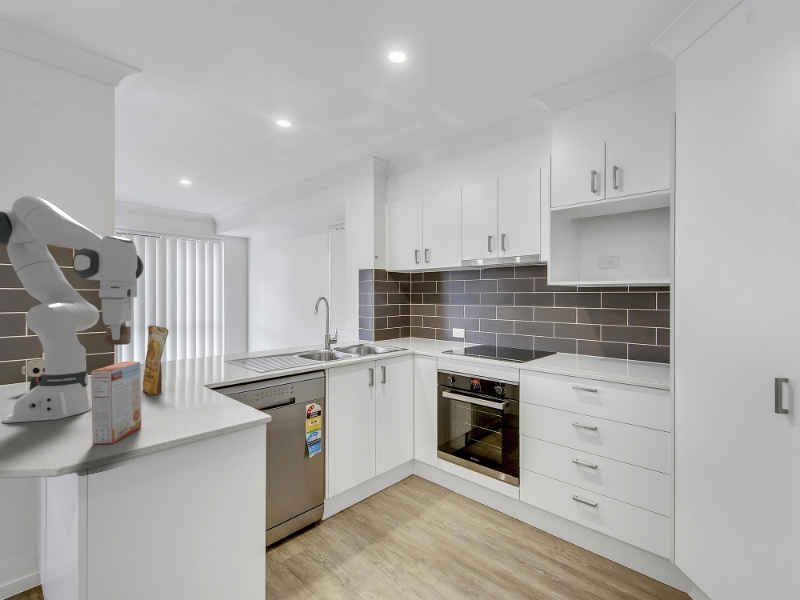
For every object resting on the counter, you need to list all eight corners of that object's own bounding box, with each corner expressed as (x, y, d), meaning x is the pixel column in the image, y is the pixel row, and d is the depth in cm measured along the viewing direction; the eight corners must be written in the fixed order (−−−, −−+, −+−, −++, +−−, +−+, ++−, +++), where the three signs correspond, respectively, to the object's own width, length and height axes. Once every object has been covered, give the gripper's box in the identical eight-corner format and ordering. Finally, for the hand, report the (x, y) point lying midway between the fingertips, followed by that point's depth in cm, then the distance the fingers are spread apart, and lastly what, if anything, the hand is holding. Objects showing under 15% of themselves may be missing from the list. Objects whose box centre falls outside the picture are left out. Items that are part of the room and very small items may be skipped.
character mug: (23, 394, 160) (23, 363, 159) (20, 392, 164) (20, 361, 164) (58, 389, 168) (58, 359, 168) (53, 387, 173) (53, 358, 172)
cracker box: (122, 427, 121) (121, 361, 121) (142, 427, 122) (142, 361, 121) (90, 445, 107) (89, 369, 107) (113, 444, 108) (112, 369, 107)
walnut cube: (106, 345, 111) (106, 327, 111) (110, 343, 115) (110, 326, 115) (127, 344, 113) (127, 327, 113) (130, 342, 118) (130, 326, 118)
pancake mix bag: (156, 386, 176) (156, 324, 175) (169, 393, 163) (169, 327, 162) (139, 388, 171) (138, 325, 171) (151, 396, 158) (151, 328, 157)
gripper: (113, 291, 122) (113, 335, 122) (97, 291, 104) (96, 342, 104) (137, 291, 125) (137, 334, 125) (125, 291, 107) (125, 341, 107)
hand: (118, 338), depth 114 cm, fingers closed on walnut cube, 5 cm apart
